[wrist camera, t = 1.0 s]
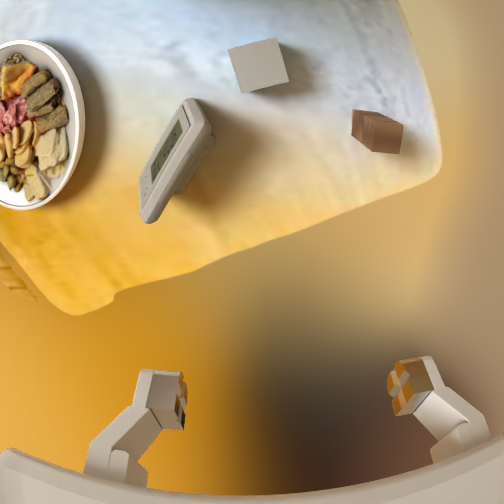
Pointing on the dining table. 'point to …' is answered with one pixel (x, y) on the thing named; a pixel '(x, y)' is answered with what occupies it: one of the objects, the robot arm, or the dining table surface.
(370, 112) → the walnut post
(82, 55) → the dining table surface
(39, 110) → the bowl
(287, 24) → the dining table surface
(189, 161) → the digital clock
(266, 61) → the grey cube
